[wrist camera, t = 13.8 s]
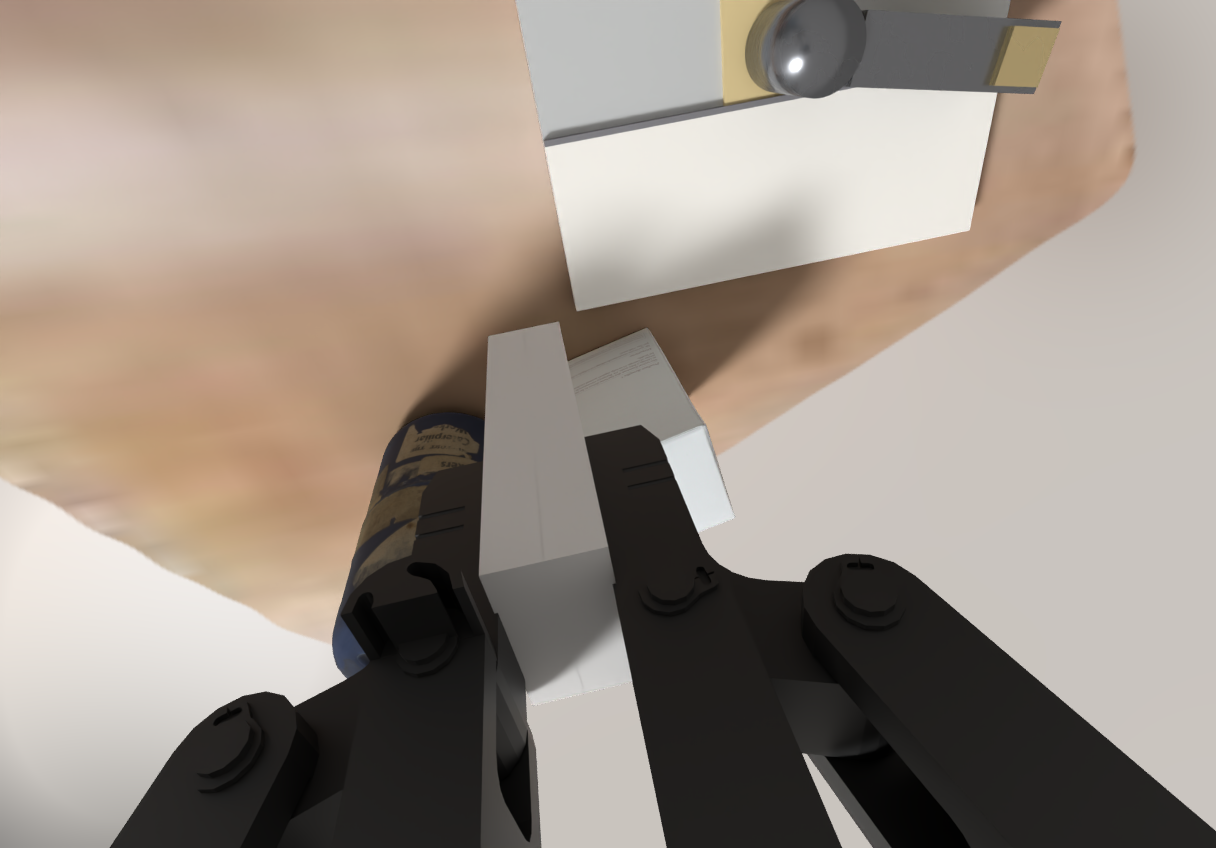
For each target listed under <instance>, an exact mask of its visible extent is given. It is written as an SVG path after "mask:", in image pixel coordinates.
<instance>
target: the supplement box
mask: <svg viewBox="0 0 1216 848" xmlns="http://www.w3.org/2000/svg"><path fill="white" fill-rule="evenodd" d="M568 365H569V370H570V374H571V379H572V384H573V388H574V393H575V397H576V402H577V406H578V411H579V416H580V420H581V425H582V429H583V434H584V437H586V436H591V435H596V434H600V433H605V432H609V431H614V430H619V429H623V428H628V427H633V426H637V425H642V426H643V427H644V428H646V429H647V430H648V431H650V432H651V433H652V434H653V435H655V436H656V437H657V438H659V439H660V442H661V444H662V446H663V449H664V451H665V454H666V456H667V459H668V463H669V464H670V466H671V468H672V471H673V473H674V476H675V480H676V481H677V483H678V485H679V488H680V490H681V493H682V495H683V498H684V500H685V502H686V505H687V507H688V510H689V512H690V515H691V517H692V520H693V522H694V524H695V527H696V529H697V532H701V531H703V530H706V529H708V528H711V527H713V526H716V525H719V524H721V523H723V522H726V521H728V520H731V519H734V518H735V515H734V512H733V509H732V506H731V503H730V500H729V496H728V493H727V490H726V487H725V484H724V481H723V477H722V474H721V471H720V468H719V464H718V461H717V458H716V454H715V451H714V448H713V445H712V442H711V439H710V436H709V432H708V429H707V426H706V424H705V423H704V421H703V420H702V418H701V417H700V415H699V414H698V412H697V411H696V409H695V407H694V406H693V404H692V402H691V401H690V399H689V397H688V395H687V393H686V392H685V390H684V388H683V387H682V385H681V383H680V381H679V379H678V378H677V376H676V374H675V372H674V371H673V369H672V367H671V365H670V363H669V362H668V360H667V358H666V357H665V355H664V353H663V351H662V350H661V348H660V346H659V345H658V343H657V342H656V340H655V338H654V336H653V335H652V333H651V332H650V330H649V329H648V328H644V329H642V330H640V331H638V332H635V333H633V334H630V335H628V336H626V337H623V338H621V339H619V340H616V341H614V342H612V343H609V344H607V345H605V346H602V347H600V348H598V349H595V350H593V351H591V352H588V353H586V354H584V355H582V356H579V357H577V358H575V359H572V360H570V361H568Z"/></svg>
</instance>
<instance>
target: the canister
mask: <svg viewBox="0 0 1216 848" xmlns="http://www.w3.org/2000/svg"><path fill="white" fill-rule="evenodd" d="M484 432H485V421H484V420H482V419H480V418H477V417H475V416H471V415H467V414H463V413H451V412H445V413H435V414H430V415H426V416H424V417H421V418H418V419H416V420H414V421H412V422H410V423H409V424H407V425H406V426H404V427H403V428H402V429H401V430H400V431H398V432H397V433H396V434H395V435H394V437H393V438H392V439H391V441H390V442H389V444H388V446H387V448H386V450H385V453H384V455H383V459H382V462H381V466H380V470H379V473H378V477H377V480H376V483H375V486H374V490H373V494H372V497H371V501H370V505H369V508H368V512H367V516H366V518H365V520H364V523H363V525H362V528H361V532H360V536H359V539H358V543H357V547H356V551H355V554H354V557H353V559H352V564H351V569H350V573H349V576H348V580H347V583H346V587H345V591H344V594H343V598H342V602H341V605H340V607H339V611H338V614H337V618H336V622H335V626H334V631H333V637H332V647H333V655H334V658H335V662H336V665H337V667H338V669H339V670H340V671H341V672H342V674H343V675H344V676H345V677H346V678H347V679H348V678H349V677H351V676H353V675H354V674H356V673H357V672H359V671H361V670H362V669H363V668H364V667H365V666H367V665H368V664H369V663H370V660H369V659H368V657H367V656H366V654H365V653H364V651H363V650H362V648H361V646H360V645H359V643H358V642H357V640H356V639H355V637H354V636H353V634H352V633H351V631H350V630H349V628H348V627H347V625H346V624H345V622H344V620H343V619H342V617H341V616H340V614H341V612H342V610H343V608H344V606H345V604H346V602H347V600H348V598H349V596H350V594H351V593H352V592H353V591H354V590H355V589H356V588H357V587H358V586H359V585H360V584H361V583H362V582H363V581H364V580H365V578H366V577H368V576H369V575H371V574H372V573H374V572H375V571H377V570H378V569H380V568H382V567H383V566H385V565H386V564H388V563H390V562H393V561H396V560H399V559H401V558H404V557H407V556H410V555H412V549H413V543H414V540H416V537H415V532H416V526H417V521H418V520H419V517H418V515H419V509H420V503H421V498H422V493H423V491H424V490H425V488H426V487H427V486H428V484H429V483H430V481H431V480H432V478H433V477H434V476H435V474H436V473H437V471H439V470H444V469H448V468H453V467H458V466H462V465H467V464H471V463H476V462H481V461H483V457H484Z"/></svg>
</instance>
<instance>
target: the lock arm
mask: <svg viewBox="0 0 1216 848" xmlns="http://www.w3.org/2000/svg"><path fill="white" fill-rule="evenodd" d="M1060 24H1061V21H1048V20H1031V19H1014V18H998V17H981V16H964V15H947V14H930V13H914V12H897V11H880V10H861V9H860V8H859V6H858V5H857V4H856V2H855V1H854V0H783V1H779V2H776V3H774V4H772V5H770V6H769V7H767V8H766V9H765V10H764V11H763V12H762V13H761V14H760V15H759V16H758V17H757V19H756V20H755V22H754V23H753V25H752V27H751V29H750V31H749V34H748V37H747V40H746V46H745V62H746V67H747V70H748V73H749V75H750V77H751V79H752V80H753V82H754V83H755V84H756V85H757V86H758V87H760V88H761V89H763V90H765V91H768V92H773V93H779V94H786V95H792V96H798V97H805V98H812V99H817V98H823V97H827V96H829V95H831V94H833V93H835V92H837V91H838V90H840V89H841V88H842V87H843V86H844V87H858V88H885V89H912V90H939V91H966V92H993V93H1019V94H1034V92H1035V90H1036V87H1038V85H1039V82H1040V79H1041V77H1042V74H1043V72H1044V69H1045V66H1046V64H1047V61H1048V58H1049V56H1050V53H1051V51H1052V48H1053V45H1054V43H1055V40H1056V37H1057V35H1058V32H1059V30H1060V28H1059V27H1060Z"/></svg>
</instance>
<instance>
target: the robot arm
mask: <svg viewBox="0 0 1216 848" xmlns="http://www.w3.org/2000/svg"><path fill="white" fill-rule="evenodd" d="M418 517H419V520H418V521H417V526H416V532H415V537H416V540H414V543H413V549H412V555H410V556H407V557H404V558H401V559H399V560H396V561H393V562H390V563H388V564H386V565H385V566H383V567H382V568H380V569H378V570H377V571H375V572H374V573H372V574H371V575H369V576H368V577H366V578H365V580H364V581H363V582H362V583H361V584H360V585H359V586H358V587H357V588H356V589H355V590H354V591H353V592H352V593H351V594H350V596H349V598H348V600H347V602H346V604H345V606H344V608H343V610H342V612H341V614H340V616H341V617H342V619H343V620H344V622H345V624H346V625H347V627H348V628H349V630H350V631H351V633H352V634H353V636H354V637H355V639H356V640H357V642H358V643H359V645H360V646H361V648H362V650H363V651H364V653H365V654H366V656H367V657H368V659H369V660H370V663H369V664H368V665H367V666H365V667H364V668H363V669H362V670H361V671H359V672H357V673H356V674H354V675H353V676H351V677H349V678H348V679H346V680H345V681H343V682H341V683H339V684H337V685H335V686H333V687H331V688H329V689H328V690H326V691H324V692H322V693H320V694H318V695H316V696H314V697H312V698H310V699H308V700H306V701H304V702H302V703H301V704H299V705H297V706H295V707H293V706H292V704H291V703H290V702H289V701H288V700H287V698H286V697H285V696H283V695H279V694H275V693H270V692H261V693H256V694H251V695H246V696H242V697H240V698H238V699H236V700H234V701H232V702H230V703H228V704H226V705H224V706H222V707H220V708H218V709H217V710H216V711H214V712H213V713H212V714H211V715H209V716H208V717H207V718H206V719H204V720H203V721H202V722H201V723H200V724H198V725H197V726H196V727H195V728H193V730H192V731H191V732H190V733H189V734H188V735H187V737H186V738H185V739H184V740H183V742H182V743H181V744H180V745H179V746H178V747H177V749H176V750H175V751H174V752H173V754H172V755H171V757H170V758H169V760H168V761H167V763H166V764H165V766H164V767H163V769H162V770H161V772H160V773H159V775H158V776H157V778H156V779H155V781H154V782H153V784H152V785H151V787H150V788H149V790H148V791H147V793H146V794H145V796H144V797H143V799H142V800H141V802H140V803H139V805H138V806H137V808H136V809H135V811H134V812H133V814H132V815H131V817H130V818H129V820H128V821H127V823H126V824H125V826H124V827H123V829H122V830H121V832H120V833H119V835H118V836H117V838H116V839H115V840H114V842H113V844H112V845H111V847H110V848H541V834H540V815H539V798H538V779H537V761H536V748H535V744H534V740H533V736H532V732H531V730H530V728H529V725H528V723H527V712H526V691H527V694H528V696H529V699H530V701H531V703H532V706H535V705H539V704H543V703H547V702H552V701H556V700H560V699H564V698H568V697H573V696H577V695H581V694H585V693H589V692H593V691H598V690H602V689H606V688H610V687H614V686H619V685H623V684H627V683H631V682H633V687H634V692H635V696H636V701H637V706H638V711H639V716H640V721H641V726H642V730H643V735H644V739H645V745H646V750H647V754H648V759H649V764H650V769H651V773H652V779H653V783H654V788H655V793H656V798H657V803H658V807H659V812H660V817H661V822H662V827H663V832H664V837H665V841H666V846H667V848H842V847H841V844H840V842H839V840H838V837H837V835H836V833H835V830H834V828H833V825H832V824H831V821H830V819H829V816H828V814H827V811H826V809H825V807H824V805H823V802H822V800H821V797H820V795H819V793H818V790H817V788H816V786H815V783H814V781H813V779H812V776H811V774H810V772H809V769H808V767H807V765H806V762H805V760H804V757H803V755H802V753H805V754H808V756H809V757H810V759H811V760H812V762H813V763H814V765H815V766H816V767H817V769H818V770H819V772H820V773H821V774H822V776H823V777H824V779H825V780H826V781H827V783H828V784H829V786H830V787H831V789H832V790H833V791H834V793H835V794H836V796H837V797H838V799H839V800H840V801H841V803H842V804H843V806H844V807H845V809H846V810H847V811H848V813H849V814H850V816H851V817H852V819H853V820H854V821H855V823H856V824H857V825H858V827H859V828H860V830H861V831H862V833H863V834H864V835H865V837H866V838H867V840H868V841H869V843H870V844H871V845H872V847H873V848H1216V831H1215V830H1214V829H1213V828H1211V827H1210V826H1209V825H1208V824H1207V823H1206V822H1204V821H1203V820H1202V819H1201V818H1200V817H1199V816H1197V815H1196V814H1195V813H1194V812H1193V811H1191V810H1190V809H1189V808H1188V807H1187V806H1186V805H1184V804H1183V803H1182V802H1181V801H1179V799H1177V798H1176V797H1175V796H1174V795H1172V794H1171V793H1170V792H1169V791H1168V790H1167V789H1166V788H1164V787H1163V786H1162V785H1161V784H1160V783H1159V782H1157V781H1156V780H1155V779H1154V778H1153V777H1151V776H1150V775H1149V774H1148V773H1147V772H1145V771H1144V770H1143V769H1142V768H1141V767H1140V766H1139V765H1137V764H1136V763H1135V762H1134V761H1133V760H1131V759H1130V758H1129V757H1128V756H1127V755H1126V754H1124V753H1123V752H1122V751H1121V750H1120V749H1118V748H1117V747H1116V746H1115V745H1114V744H1113V743H1111V742H1110V741H1109V740H1108V739H1107V738H1106V737H1104V736H1103V735H1102V734H1101V733H1100V732H1098V731H1097V730H1096V729H1095V728H1094V727H1093V726H1091V725H1090V724H1089V723H1088V722H1087V721H1086V720H1084V719H1083V718H1082V717H1081V716H1080V715H1078V714H1077V713H1076V712H1075V711H1074V710H1073V709H1071V708H1070V707H1069V706H1068V705H1067V704H1066V703H1064V702H1063V701H1062V700H1061V699H1060V698H1059V697H1057V696H1056V695H1055V694H1054V693H1053V692H1051V691H1050V690H1049V689H1048V688H1046V687H1045V686H1044V685H1043V684H1042V683H1041V682H1040V681H1039V680H1037V679H1036V678H1035V677H1034V676H1033V675H1031V674H1030V673H1029V672H1028V671H1026V669H1024V668H1023V667H1022V666H1021V665H1020V664H1019V663H1017V662H1016V661H1015V660H1014V659H1013V658H1011V657H1010V656H1009V655H1008V654H1007V653H1006V652H1004V651H1003V650H1002V649H1001V648H1000V647H999V646H997V645H996V644H995V643H994V642H993V641H991V640H990V639H989V638H988V637H987V636H986V635H984V634H983V633H982V632H981V631H980V630H978V629H977V628H976V627H975V626H974V625H973V624H971V623H970V622H969V621H968V620H967V619H966V618H964V617H963V616H962V615H961V614H960V613H959V612H957V611H956V610H955V609H954V608H953V607H951V606H950V605H949V604H948V603H947V602H946V601H944V600H943V599H942V598H941V597H940V596H938V595H937V594H936V593H935V592H934V591H932V590H931V589H930V588H929V587H928V586H927V585H926V584H924V583H923V582H922V581H921V580H920V579H918V578H917V577H916V576H915V575H913V574H912V573H910V572H909V571H907V570H905V569H904V568H902V567H901V566H899V565H897V564H896V563H894V562H891V561H888V560H885V559H882V558H879V557H875V556H872V555H863V554H843V555H839V556H836V557H832V558H828V559H825V560H824V561H822V562H821V563H820V564H818V565H817V566H816V567H815V568H813V569H812V570H810V572H809V574H808V576H807V578H806V580H805V582H790V581H768V580H761V579H753V578H748V577H745V576H742V575H739V574H736V573H733V572H731V571H730V570H728V569H726V568H725V567H723V566H721V565H719V564H718V563H717V562H716V561H715V560H714V559H713V558H712V557H711V556H710V555H709V554H708V552H707V550H706V549H705V547H704V545H703V544H702V541H701V539H700V537H699V534H698V532H697V529H696V527H695V524H694V522H693V520H692V517H691V515H690V512H689V510H688V507H687V505H686V502H685V500H684V498H683V495H682V493H681V490H680V488H679V485H678V483H677V481H676V480H675V476H674V473H673V471H672V468H671V466H670V464H669V463H668V459H667V456H666V454H665V451H664V449H663V446H662V444H661V442H660V439H659V438H657V437H656V436H655V435H653V434H652V433H651V432H650V431H648V430H647V429H646V428H644V427H643V426H642V425H637V426H633V427H628V428H623V429H619V430H614V431H609V432H605V433H600V434H596V435H591V436H586V437H584V434H583V429H582V425H581V420H580V416H579V411H578V406H577V402H576V397H575V393H574V388H573V384H572V379H571V374H570V370H569V365H568V361H567V356H566V352H565V347H564V342H563V338H562V333H561V329H560V324H559V322H554V323H549V324H544V325H539V326H535V327H530V328H525V329H520V330H515V331H510V332H506V333H501V334H496V335H491V336H488V356H487V381H486V406H485V432H484V457H483V461H481V462H476V463H471V464H467V465H462V466H458V467H453V468H448V469H444V470H439V471H437V473H436V474H435V476H434V477H433V478H432V480H431V481H430V483H429V484H428V486H427V487H426V488H425V490H424V491H423V493H422V498H421V503H420V509H419V515H418Z"/></svg>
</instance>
